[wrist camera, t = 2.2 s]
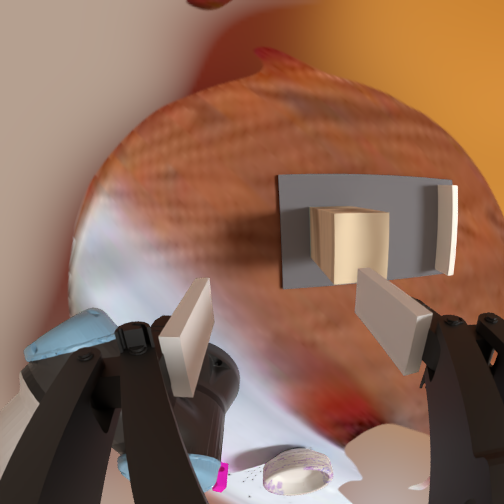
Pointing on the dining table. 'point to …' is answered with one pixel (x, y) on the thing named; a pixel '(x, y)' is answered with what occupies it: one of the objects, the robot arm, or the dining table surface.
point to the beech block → (349, 241)
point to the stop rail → (446, 228)
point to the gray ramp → (364, 196)
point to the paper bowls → (297, 472)
